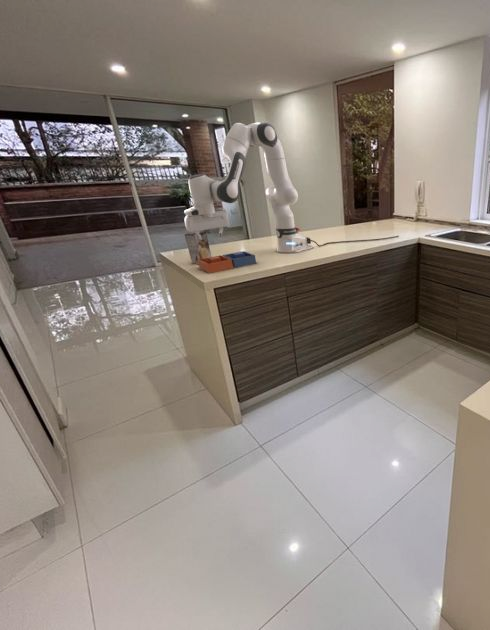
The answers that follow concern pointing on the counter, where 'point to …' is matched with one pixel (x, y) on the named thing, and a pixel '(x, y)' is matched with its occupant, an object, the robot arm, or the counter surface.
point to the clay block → (214, 259)
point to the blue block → (238, 255)
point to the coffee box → (197, 246)
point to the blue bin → (242, 259)
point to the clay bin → (215, 264)
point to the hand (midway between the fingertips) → (211, 237)
